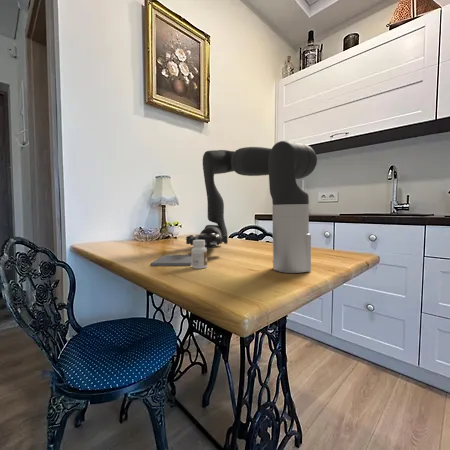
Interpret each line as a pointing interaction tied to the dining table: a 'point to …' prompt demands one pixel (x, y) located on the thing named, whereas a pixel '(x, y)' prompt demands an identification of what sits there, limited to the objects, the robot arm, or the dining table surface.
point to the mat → (173, 260)
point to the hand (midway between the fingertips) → (204, 241)
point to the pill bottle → (199, 254)
